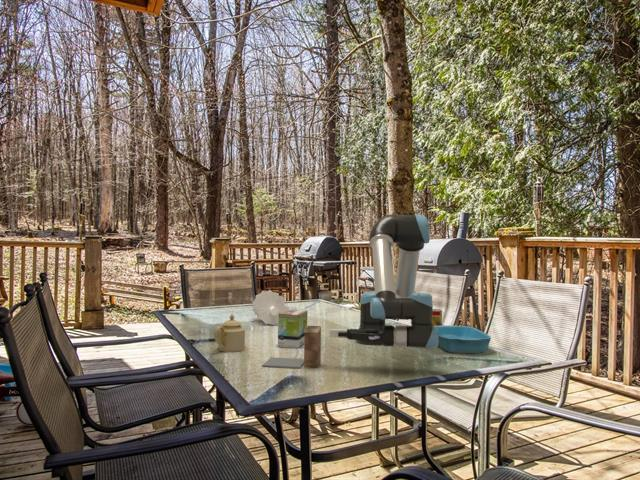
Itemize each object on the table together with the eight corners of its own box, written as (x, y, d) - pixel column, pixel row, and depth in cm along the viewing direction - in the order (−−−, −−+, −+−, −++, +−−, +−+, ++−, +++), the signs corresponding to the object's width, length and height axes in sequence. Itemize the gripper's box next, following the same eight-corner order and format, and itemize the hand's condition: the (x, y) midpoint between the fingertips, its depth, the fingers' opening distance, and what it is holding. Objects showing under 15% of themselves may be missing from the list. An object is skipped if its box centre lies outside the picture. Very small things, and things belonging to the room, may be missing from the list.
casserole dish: (423, 338, 229) (423, 323, 230) (469, 338, 230) (469, 324, 230) (444, 356, 193) (444, 339, 193) (498, 357, 193) (498, 339, 193)
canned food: (444, 334, 239) (445, 310, 239) (431, 334, 237) (431, 311, 237) (436, 331, 247) (436, 308, 247) (423, 332, 244) (423, 308, 244)
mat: (306, 360, 182) (306, 359, 182) (299, 368, 170) (300, 367, 170) (271, 358, 184) (271, 357, 184) (262, 366, 172) (262, 365, 172)
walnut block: (320, 363, 179) (321, 326, 179) (317, 368, 172) (318, 329, 172) (307, 362, 179) (307, 325, 179) (303, 367, 172) (304, 328, 173)
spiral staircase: (266, 333, 255) (258, 323, 279) (295, 318, 259) (285, 310, 283) (252, 304, 252) (245, 296, 276) (281, 289, 256) (272, 283, 280)
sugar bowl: (240, 354, 191) (240, 317, 191) (213, 354, 191) (213, 317, 191) (246, 346, 206) (247, 312, 206) (221, 346, 206) (222, 311, 206)
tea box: (299, 348, 203) (299, 314, 203) (277, 347, 205) (277, 313, 205) (307, 341, 218) (307, 309, 218) (286, 340, 220) (286, 308, 220)
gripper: (394, 350, 164) (327, 347, 168) (394, 342, 177) (331, 340, 181) (394, 328, 164) (327, 325, 168) (394, 322, 177) (332, 320, 181)
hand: (329, 333), depth 174 cm, fingers closed
